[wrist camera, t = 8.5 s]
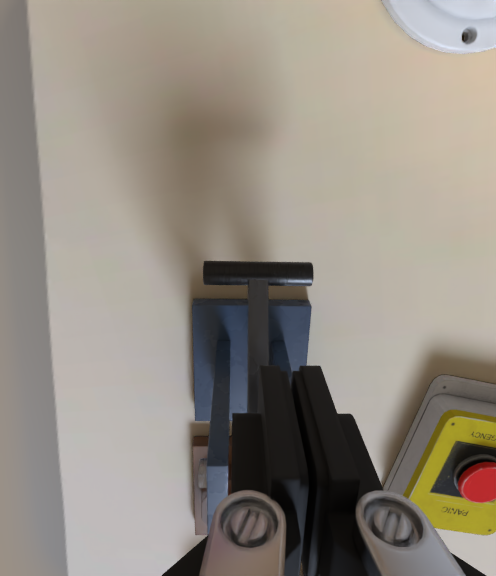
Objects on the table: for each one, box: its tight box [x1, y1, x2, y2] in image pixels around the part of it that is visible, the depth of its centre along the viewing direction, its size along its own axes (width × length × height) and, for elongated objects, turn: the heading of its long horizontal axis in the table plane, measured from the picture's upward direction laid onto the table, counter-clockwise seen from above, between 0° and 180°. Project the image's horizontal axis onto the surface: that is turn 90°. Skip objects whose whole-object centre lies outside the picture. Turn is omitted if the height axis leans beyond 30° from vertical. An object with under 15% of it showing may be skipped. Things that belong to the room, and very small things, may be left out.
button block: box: [193, 436, 232, 535], centre depth 35 cm, size 10×8×3 cm
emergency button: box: [383, 375, 496, 535], centre depth 34 cm, size 9×4×15 cm
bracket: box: [192, 299, 311, 535], centre depth 26 cm, size 10×8×13 cm
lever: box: [203, 261, 313, 413], centre depth 22 cm, size 13×6×2 cm, turn 179°
